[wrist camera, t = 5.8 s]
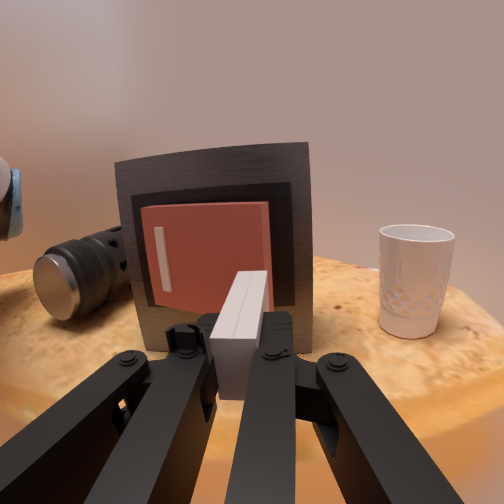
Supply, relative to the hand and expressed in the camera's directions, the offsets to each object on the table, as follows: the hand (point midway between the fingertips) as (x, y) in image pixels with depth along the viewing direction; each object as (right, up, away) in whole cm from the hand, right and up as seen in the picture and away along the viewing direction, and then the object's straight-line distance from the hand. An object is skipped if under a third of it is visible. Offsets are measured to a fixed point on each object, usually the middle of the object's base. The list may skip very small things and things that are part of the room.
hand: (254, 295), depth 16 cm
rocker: (-3, -2, +7) cm, 8 cm away
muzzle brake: (-20, -4, +29) cm, 35 cm away
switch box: (-2, -6, +15) cm, 16 cm away
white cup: (+17, -6, +13) cm, 22 cm away
